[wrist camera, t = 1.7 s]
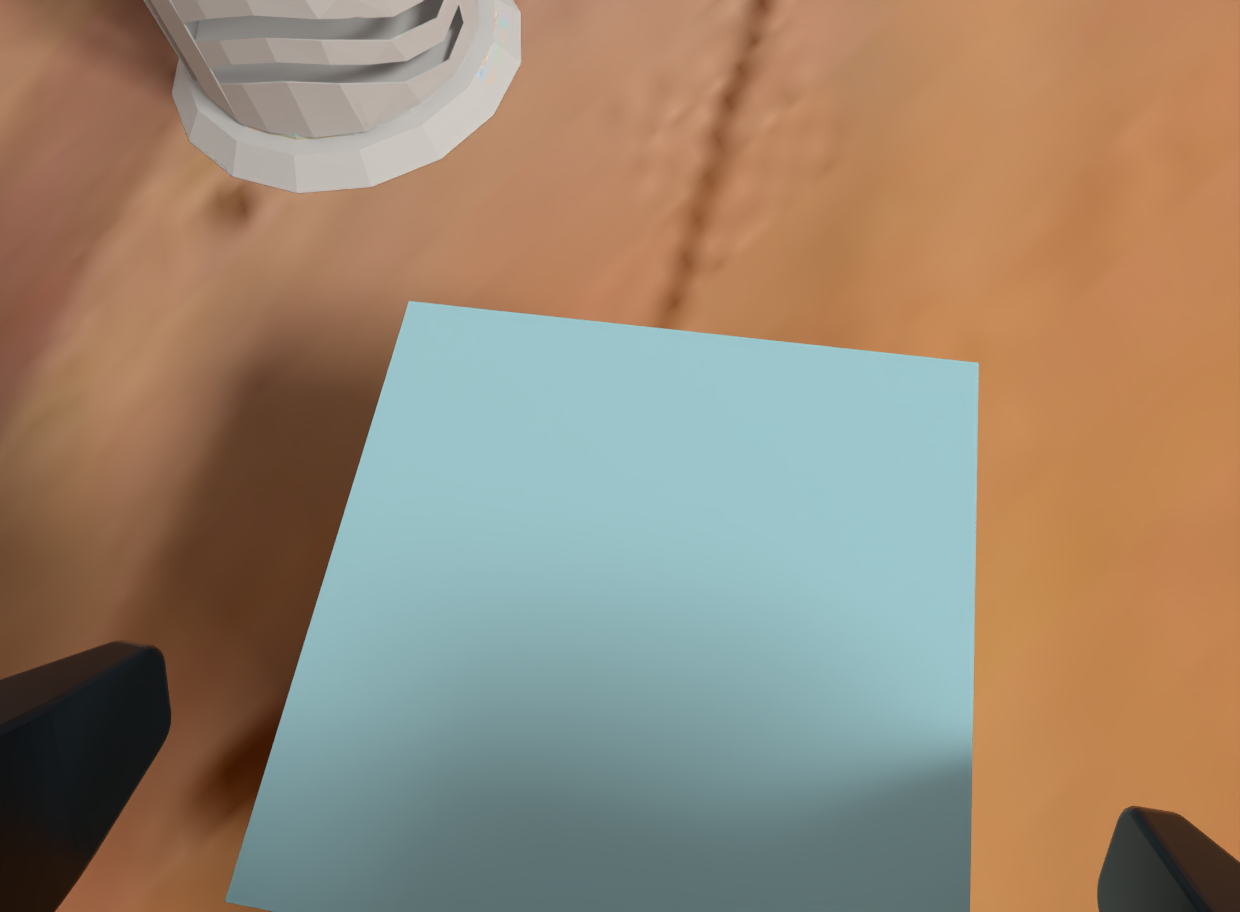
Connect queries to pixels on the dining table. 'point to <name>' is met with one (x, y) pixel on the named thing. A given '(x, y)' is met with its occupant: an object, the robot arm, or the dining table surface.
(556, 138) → the dining table surface
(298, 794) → the pale blue cube block
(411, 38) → the french press
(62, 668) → the robot arm
